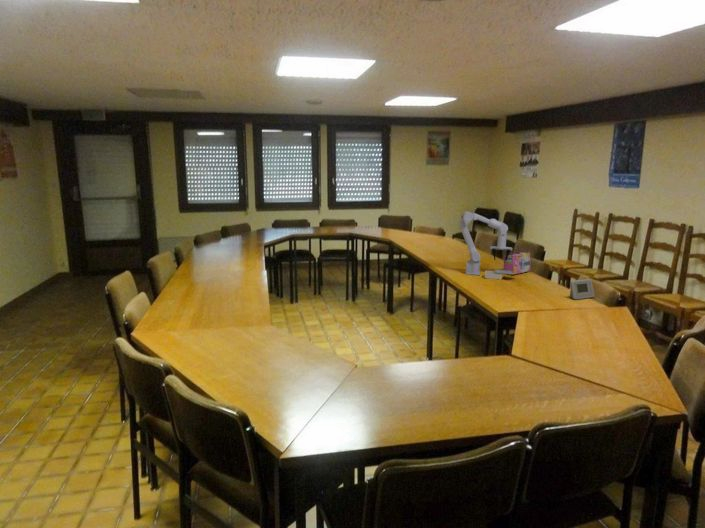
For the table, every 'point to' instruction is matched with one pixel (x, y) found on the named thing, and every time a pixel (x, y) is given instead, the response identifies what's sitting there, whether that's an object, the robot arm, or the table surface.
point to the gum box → (517, 262)
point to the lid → (507, 271)
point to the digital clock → (581, 289)
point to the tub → (492, 275)
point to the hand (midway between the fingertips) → (500, 260)
